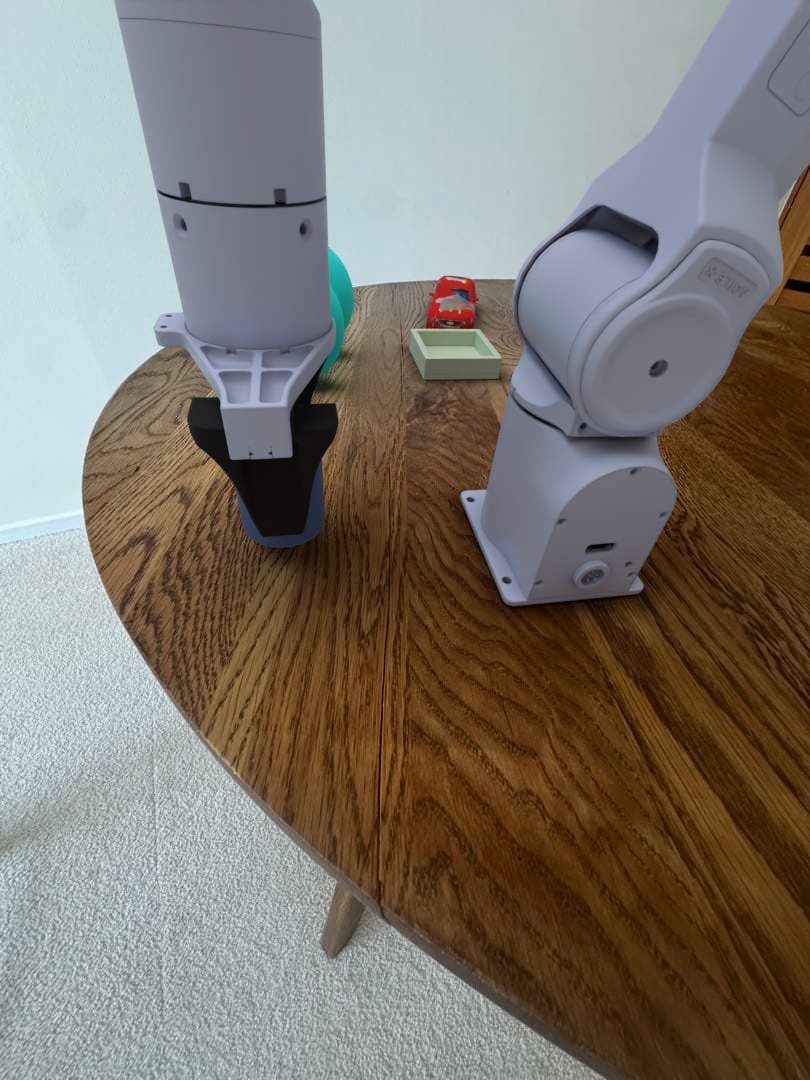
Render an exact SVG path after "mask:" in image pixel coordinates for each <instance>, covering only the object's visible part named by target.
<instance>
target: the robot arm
mask: <svg viewBox="0 0 810 1080" xmlns="http://www.w3.org/2000/svg"><path fill="white" fill-rule="evenodd" d="M113 2H114V7H115V11H116V15H117V20H118V24H119V29H120V34H121V39H122V42H123V48H124V52H125V57H126V61H127V66H128V69H129V75H130V79H131V84H132V88H133V93H134V97H135V102H136V106H137V110H138V115H139V120H140V124H141V129H142V133H143V138H144V143H145V146H146V151H147V156H148V161H149V165H150V170H151V175H152V179H153V183H154V188H155V189H156V190H155V191H156V195H157V200H158V205H159V209H160V215H161V219H162V223H163V227H164V231H165V235H166V236H165V237H166V241H167V244H168V246H167V247H168V250H169V254H170V259H171V264H172V268H173V272H174V277H175V282H176V287H177V291H178V295H179V299H180V305H181V309H182V312H165V313H162V314H160V315H159V316H158V317H157V319H156V322H155V323H154V325H153V331H154V335H155V339H156V342H157V343H156V344H157V345H158V346H160V347H163V348H179V349H180V348H181V349H184V350H186V351H187V352H188V354H189V355H190V357H191V358H192V360H193V361H194V363H195V364H196V366H197V368H198V369H199V370H200V372H201V374H202V375H203V376H204V378H205V380H206V381H207V382H208V384H209V386H210V388H211V389H212V391H213V392H214V393H215V395H216V396H205V397H192V398H191V401H190V404H189V408H188V411H187V416H186V422H187V426H188V430H189V433H190V435H191V437H192V439H193V442H194V443H195V445H196V446H197V448H199V449H200V450H202V451H203V452H204V453H205V454H206V455H208V456H209V458H211V459H212V460H213V461H214V462H215V463H216V464H217V466H219V467H220V468H221V470H222V471H223V472H224V473H225V475H226V476H227V477H228V478H229V480H230V482H231V483H232V484H233V486H234V488H235V487H236V488H235V490H236V489H237V491H238V493H239V495H240V497H241V499H242V501H243V503H244V505H245V507H246V509H247V511H248V513H249V515H250V517H251V519H252V521H253V523H254V525H255V526H256V528H257V530H258V531H259V533H260V534H261V536H263V537H271V536H285V535H300V534H302V533H303V532H304V529H305V526H306V522H307V517H308V512H309V506H310V499H311V492H312V487H313V482H314V478H315V475H316V472H317V469H318V466H319V464H320V462H321V460H322V461H323V458H324V456H325V455H326V453H327V451H328V450H329V448H330V447H331V445H332V444H333V442H334V441H335V439H336V436H337V432H338V428H339V421H340V419H339V415H338V414H339V413H338V407H337V403H335V402H325V403H324V402H323V403H321V402H319V403H312V399H313V395H314V392H315V388H316V385H317V383H318V380H319V378H320V377H319V375H320V373H321V370H322V368H323V366H324V364H325V362H326V360H327V358H328V355H329V354H330V352H331V351H332V350H333V348H334V346H335V343H336V324H335V321H334V319H333V318H332V317H331V314H330V284H329V253H328V247H329V224H328V223H329V222H328V221H329V220H328V196H327V167H326V166H327V165H326V163H327V162H326V133H325V131H326V130H325V101H324V99H325V97H324V72H323V71H324V68H323V66H324V65H323V42H322V41H323V38H322V36H323V35H322V20H321V14H320V12H319V11H320V10H319V9H318V7H317V5H316V3H315V1H314V0H113ZM809 165H810V0H730V1H729V2H728V3H727V5H726V6H725V9H724V10H723V12H722V13H721V15H720V17H719V19H718V20H717V22H716V24H715V25H714V26H713V28H712V29H711V32H710V33H709V34H708V36H707V38H706V39H705V42H704V43H703V44H702V46H701V48H700V50H699V51H698V53H697V54H696V55H695V58H694V59H693V61H692V63H691V64H690V66H689V67H688V69H687V71H686V73H685V74H684V76H683V78H682V79H681V81H680V82H679V84H678V86H677V87H676V89H675V91H674V93H673V94H672V96H671V98H670V99H669V101H668V102H667V104H666V105H665V107H664V108H663V110H662V112H661V113H660V115H659V117H658V119H657V120H656V122H655V124H654V125H653V126H652V128H651V130H650V132H649V133H647V135H646V136H644V137H643V138H642V139H641V140H640V141H639V142H638V143H636V144H635V145H634V146H633V147H632V148H630V149H629V150H628V151H627V152H625V153H624V154H623V155H621V156H620V157H619V158H618V159H617V160H616V161H614V162H613V163H611V165H609V166H608V167H607V168H606V169H605V170H603V171H602V172H601V173H600V174H599V175H598V176H597V177H595V179H593V181H591V183H590V184H589V186H588V188H587V190H586V191H585V192H584V194H583V197H582V198H581V200H580V202H579V203H578V205H576V208H575V209H574V210H573V212H572V213H571V214H570V216H569V217H568V218H567V219H566V220H565V221H564V222H563V223H562V224H561V225H560V226H559V227H558V228H557V229H555V230H554V231H553V232H551V233H550V234H548V235H547V236H546V237H545V238H543V240H541V241H540V242H539V243H538V244H537V245H536V247H534V248H533V249H532V250H531V252H530V253H529V255H528V256H527V257H526V258H525V260H524V262H523V263H522V265H521V267H520V268H519V271H518V273H517V276H516V279H515V282H514V284H513V289H512V293H511V303H510V304H511V315H512V316H511V317H512V321H513V324H514V327H515V329H516V332H517V334H518V335H519V337H520V338H521V339H522V341H523V342H524V344H523V348H522V353H521V357H520V359H519V362H518V363H517V365H516V366H515V368H514V370H513V372H512V375H511V380H510V382H509V383H510V384H509V388H508V392H507V397H506V402H505V406H504V410H503V415H502V419H501V423H500V428H499V433H498V437H497V442H496V446H495V451H494V455H493V460H492V464H491V468H490V473H489V477H488V480H487V486H486V489H473V490H470V489H469V490H463V491H461V492H460V495H459V500H460V502H461V504H462V507H463V509H464V512H465V514H466V517H467V519H468V521H469V524H470V526H471V528H472V530H473V533H474V536H475V538H476V541H477V543H478V546H479V548H480V549H481V553H482V554H483V557H484V559H485V562H486V563H487V566H488V568H489V571H490V573H491V576H492V578H493V580H494V582H495V585H496V588H497V591H498V592H499V594H500V597H501V600H502V601H503V603H505V604H506V605H507V606H510V607H519V606H531V605H539V604H549V603H550V604H551V603H559V602H570V601H580V600H589V599H590V600H591V599H600V598H610V597H611V598H612V597H619V596H630V595H638V594H640V593H641V592H642V591H643V589H644V586H645V585H644V583H643V582H642V580H641V579H640V577H639V574H640V571H641V569H642V568H643V566H644V565H645V562H646V561H647V559H648V557H649V555H650V553H651V551H652V550H653V548H654V546H655V545H656V543H657V541H658V539H659V536H660V535H661V534H662V531H663V530H664V528H665V526H666V524H667V522H668V521H669V519H670V517H671V515H672V513H673V511H674V509H675V505H676V502H677V496H678V491H677V485H676V481H675V480H674V477H673V475H672V474H671V472H670V470H669V469H668V467H667V466H666V464H665V461H664V459H663V458H662V457H663V456H662V455H661V453H660V448H659V442H658V437H660V436H662V434H663V431H664V430H665V428H667V427H669V426H671V425H673V424H674V423H676V422H678V421H679V420H681V419H683V418H684V417H685V416H687V415H688V414H690V413H691V412H692V411H693V410H695V409H696V408H697V407H698V406H699V405H700V404H702V402H703V401H705V400H706V398H708V396H709V395H710V394H711V393H712V392H713V391H714V390H715V389H716V387H717V386H718V385H719V383H720V382H721V380H722V379H723V377H724V376H725V374H726V372H727V370H728V368H729V367H730V365H731V363H732V361H733V358H734V356H735V353H736V351H737V349H738V346H739V344H740V342H741V339H742V336H743V335H744V333H745V331H746V330H747V328H748V327H749V325H750V323H751V322H752V320H753V319H754V318H755V316H756V315H757V313H759V311H760V310H761V308H762V307H763V306H764V305H765V303H766V302H767V301H768V300H769V299H770V297H772V296H773V294H774V293H775V292H776V290H778V289H779V287H780V286H781V285H782V283H783V280H784V267H785V266H784V257H783V250H782V249H783V247H782V240H781V233H780V223H779V205H780V202H781V201H782V199H783V198H784V196H785V195H786V194H787V193H788V191H789V190H790V189H791V188H792V186H793V185H794V184H795V182H796V181H797V180H798V179H799V178H800V177H801V175H802V174H803V172H804V171H805V170H806V169H807V167H808V166H809ZM318 377H319V378H318Z"/></svg>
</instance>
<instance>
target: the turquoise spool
mask: <svg viewBox="0 0 810 1080" xmlns="http://www.w3.org/2000/svg"><path fill="white" fill-rule="evenodd" d="M328 253H329V284H330V314H331V317H332V318H333V319H334V321H335V324H336V343H335V346H334V348H333V350H332V351H331V352H330V354H329V355H328V358H327V360H326V362H325V364H324V366H323V368H322V370H321V373H320V375H319V377H318V379H319V378H320V377H322V376H323V375H324V374H326V373H327V372H328V371H329V370H330V369H331V368H332V367H333V365H334V364H335V362H336V361H337V359H338V357H339V355H340V353H341V351H342V347H343V344H344V338H345V333H346V331H347V329H348V327H349V325H350V324H351V323H350V322H351V320H352V317H353V313H354V307H355V297H354V296H355V294H354V287H353V284H352V280H351V277H350V274H349V272H348V270H347V268H346V266H345V264H344V263H343V262H342V259H341V258H340V257H339V256H338V254H337V253H336V252H335V251H334V250H333V249H332V248H331V247H329V246H328Z"/></svg>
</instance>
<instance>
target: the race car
mask: <svg viewBox="0 0 810 1080" xmlns="http://www.w3.org/2000/svg"><path fill="white" fill-rule="evenodd" d="M477 295H478V294H477V288H476V284H475V282H474V281H473V280H472V279H471V278H470V277H466V276H458V275H443V276H442V277H440V278H439V279H438V281H437V282H436V284H435V286H434V289H433V292H432V291H431V292H429V293H428V296H429V297H431V299H430V302H429V307H428V309H427V313H426V314H427V315H426V326H425V329H474V326H475V321H476V308H477V307H476V305H477V302H479V301H480V298H479V297H477Z"/></svg>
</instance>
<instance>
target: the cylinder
mask: <svg viewBox="0 0 810 1080" xmlns="http://www.w3.org/2000/svg"><path fill="white" fill-rule="evenodd" d="M234 488H235V493H236V499H237V501H238V502H237V503H238V508H239V513H240V518H241V524H242V528H243V531H244V533H245V534H246V536H247V537H248V538H249V539H250V540H252V541H253V542H254V543H256V544H258V545H261V546H264V547H268V548H276V549H283V548H284V549H285V548H293V547H297V546H300V545H303V544H305V543H307V542H310V541H311V540H313V539H314V538H315V537H317V536H318V535H319V533H320V532H321V531H322V530H323V528H324V527H325V523H326V522H325V521H326V513H325V512H326V511H325V509H326V508H325V493H324V492H325V490H324V472H323V459H322V460H321V462H320V464H319V466H318V469H317V472H316V475H315V478H314V482H313V487H312V492H311V499H310V506H309V512H308V517H307V522H306V526H305V529H304V532H303V533H302V534H300V535H285V536H271V537H263V536H261V534H260V533H259V531H258V530H257V528H256V526H255V525H254V523H253V521H252V519H251V517H250V515H249V513H248V511H247V509H246V507H245V505H244V503H243V501H242V499H241V497H240V495H239V493H238V491H237V489H236V487H235V486H234Z"/></svg>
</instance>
